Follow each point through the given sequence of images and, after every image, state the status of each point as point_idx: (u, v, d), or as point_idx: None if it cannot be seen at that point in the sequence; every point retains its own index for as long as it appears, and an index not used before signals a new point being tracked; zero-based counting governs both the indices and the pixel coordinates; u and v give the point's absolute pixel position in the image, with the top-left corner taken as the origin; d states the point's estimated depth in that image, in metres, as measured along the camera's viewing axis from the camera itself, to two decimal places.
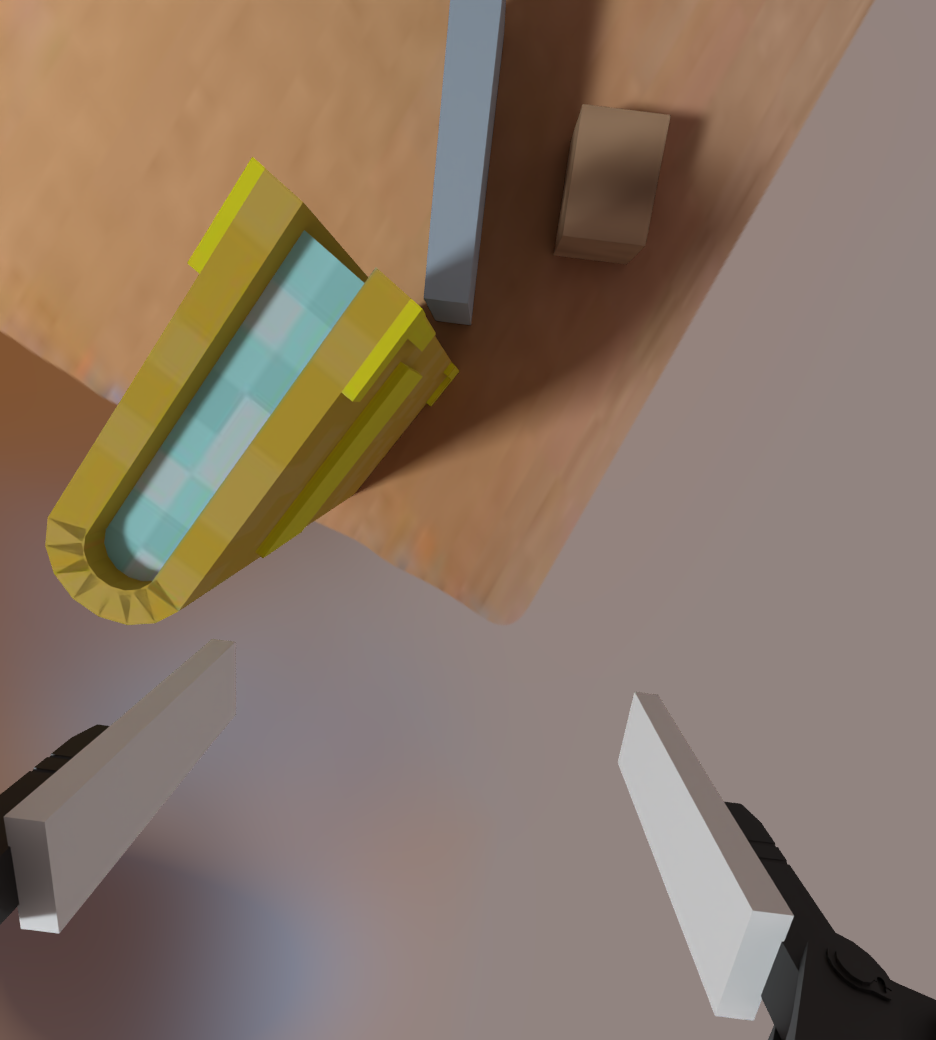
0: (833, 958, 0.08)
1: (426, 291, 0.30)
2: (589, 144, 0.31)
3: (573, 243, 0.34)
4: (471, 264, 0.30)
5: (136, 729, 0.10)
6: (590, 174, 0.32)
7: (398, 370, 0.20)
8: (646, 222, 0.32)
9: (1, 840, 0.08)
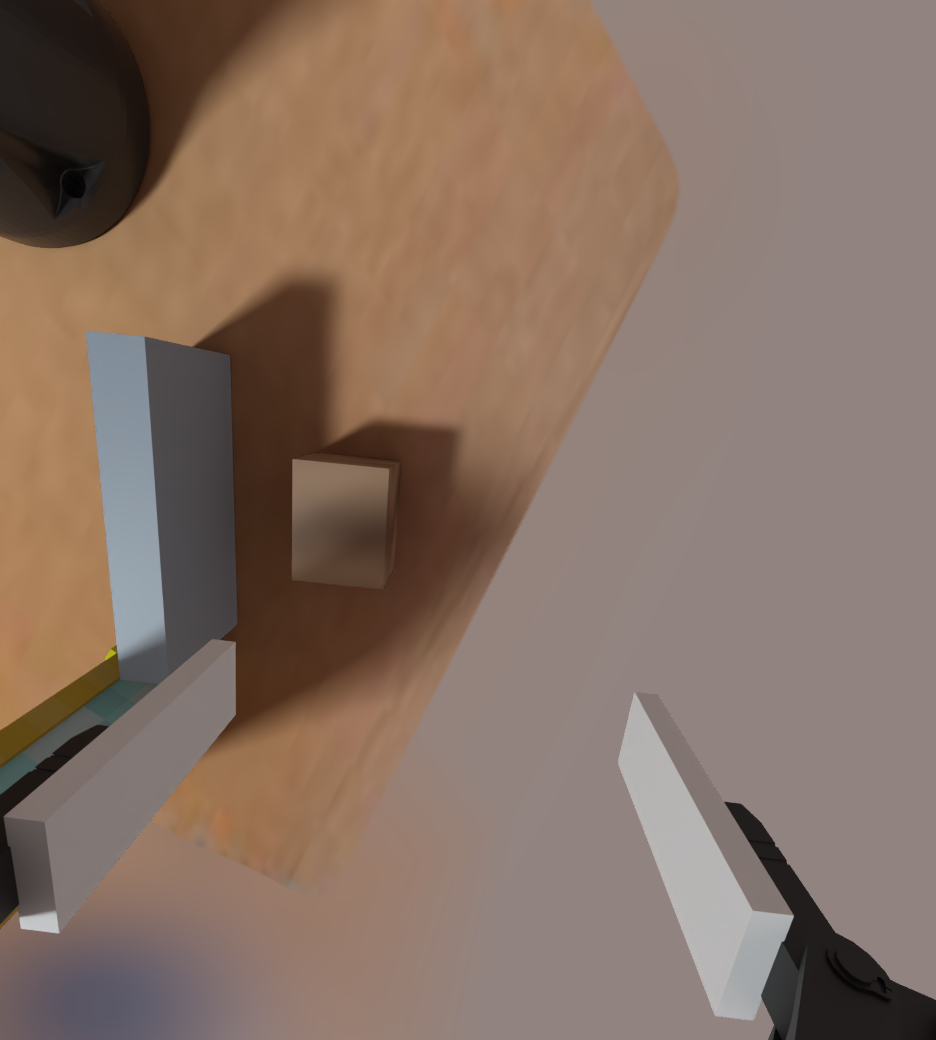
0: (833, 958, 0.08)
1: (122, 673, 0.28)
2: (305, 496, 0.28)
3: None
4: (165, 649, 0.27)
5: (136, 729, 0.10)
6: (311, 523, 0.29)
7: None
8: (379, 568, 0.29)
9: (1, 840, 0.08)
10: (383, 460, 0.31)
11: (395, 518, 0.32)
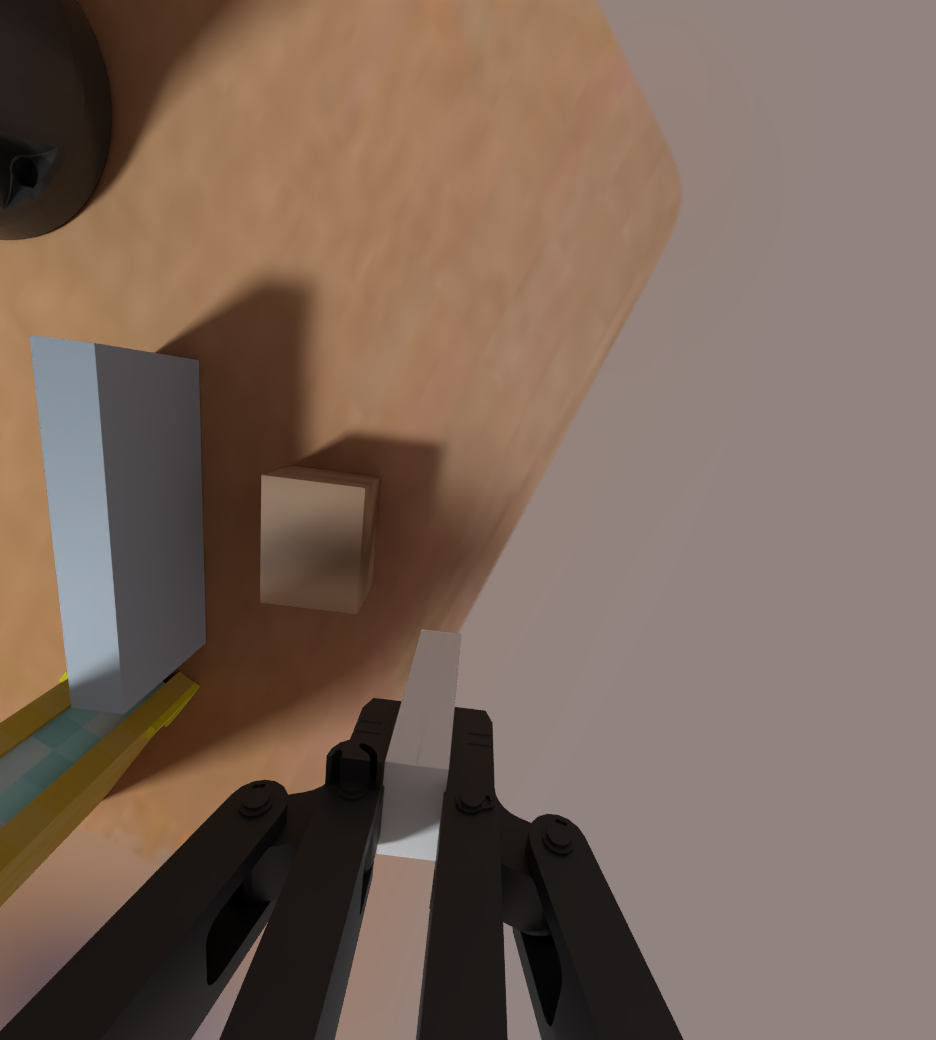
0: (459, 801, 0.10)
1: (73, 701, 0.26)
2: (275, 515, 0.27)
3: None
4: (119, 677, 0.25)
5: (424, 700, 0.13)
6: (281, 543, 0.27)
7: None
8: (353, 592, 0.28)
9: None
10: (361, 476, 0.30)
11: (373, 537, 0.30)
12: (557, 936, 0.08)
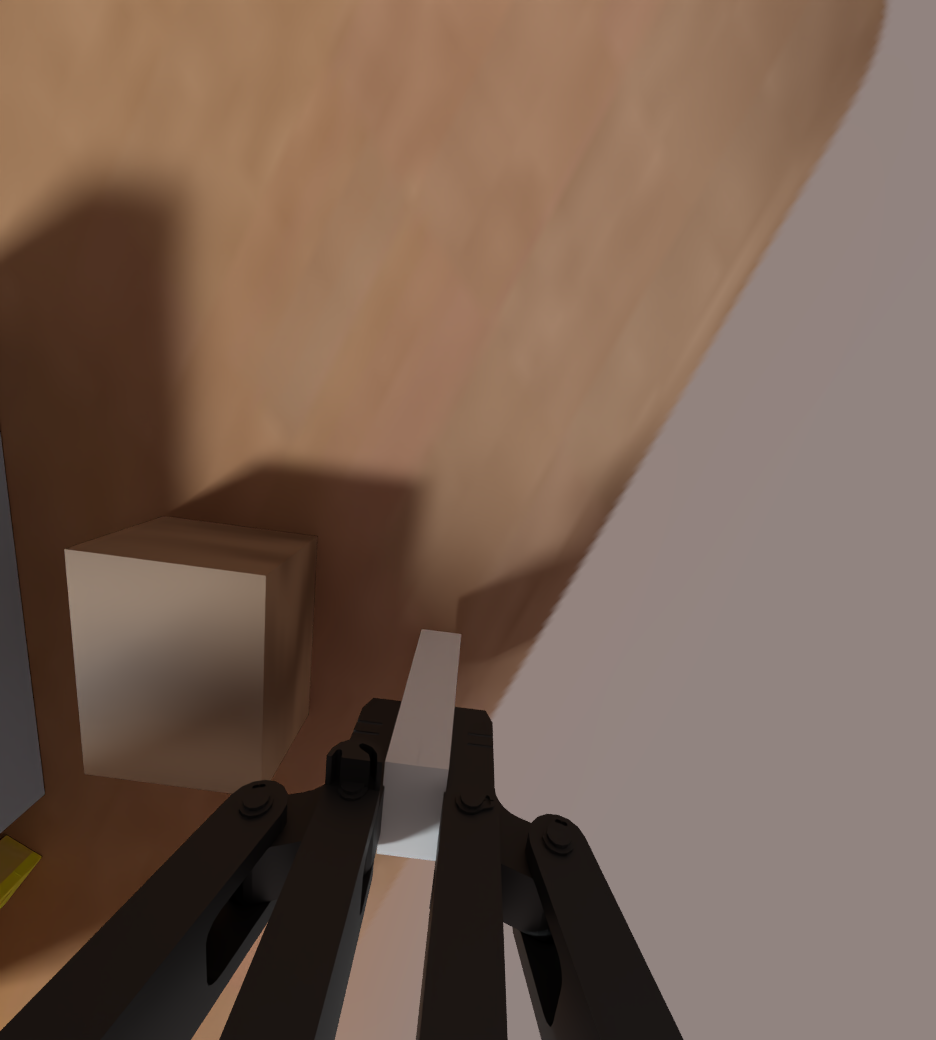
0: (459, 801, 0.10)
1: None
2: (98, 623, 0.14)
3: None
4: None
5: (424, 700, 0.13)
6: (114, 674, 0.14)
7: None
8: (254, 760, 0.15)
9: None
10: (281, 536, 0.17)
11: (304, 640, 0.18)
12: (557, 936, 0.08)
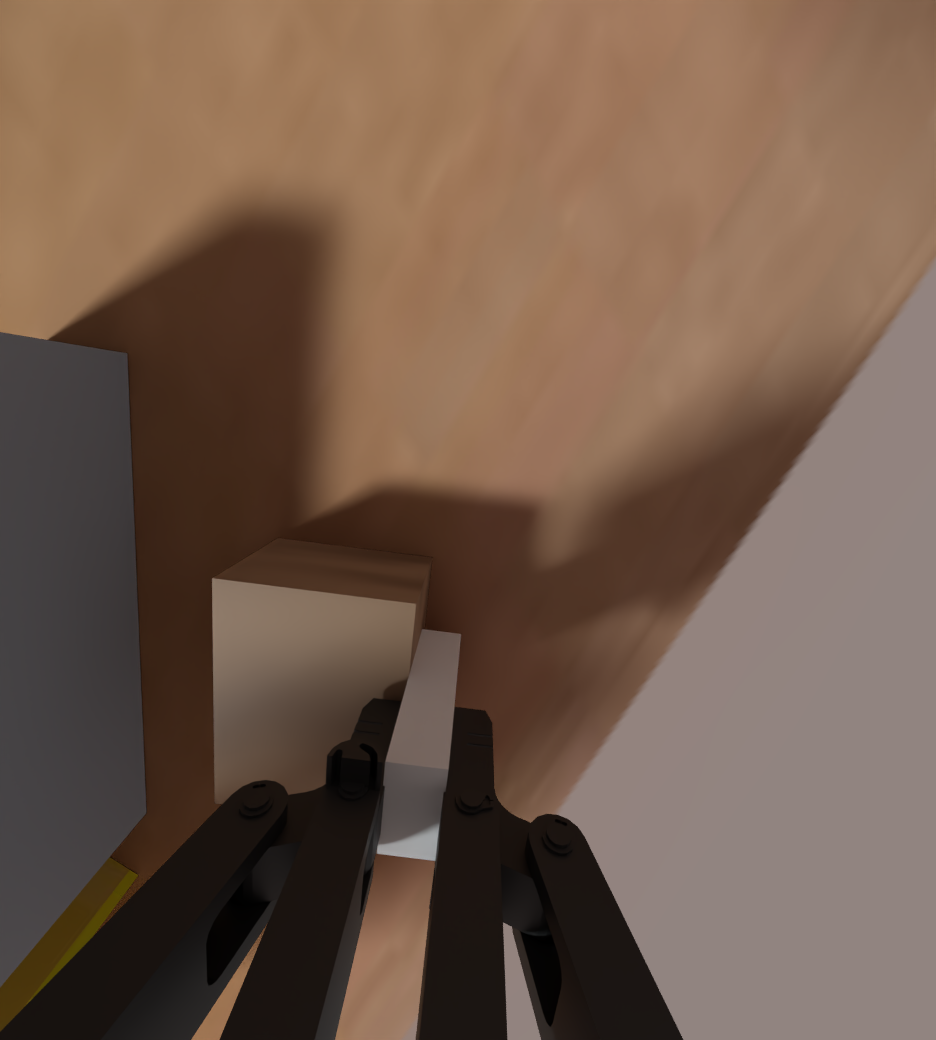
0: (459, 801, 0.10)
1: None
2: (241, 652, 0.14)
3: None
4: None
5: (424, 700, 0.13)
6: (253, 703, 0.14)
7: None
8: None
9: None
10: (399, 559, 0.17)
11: None
12: (557, 936, 0.08)
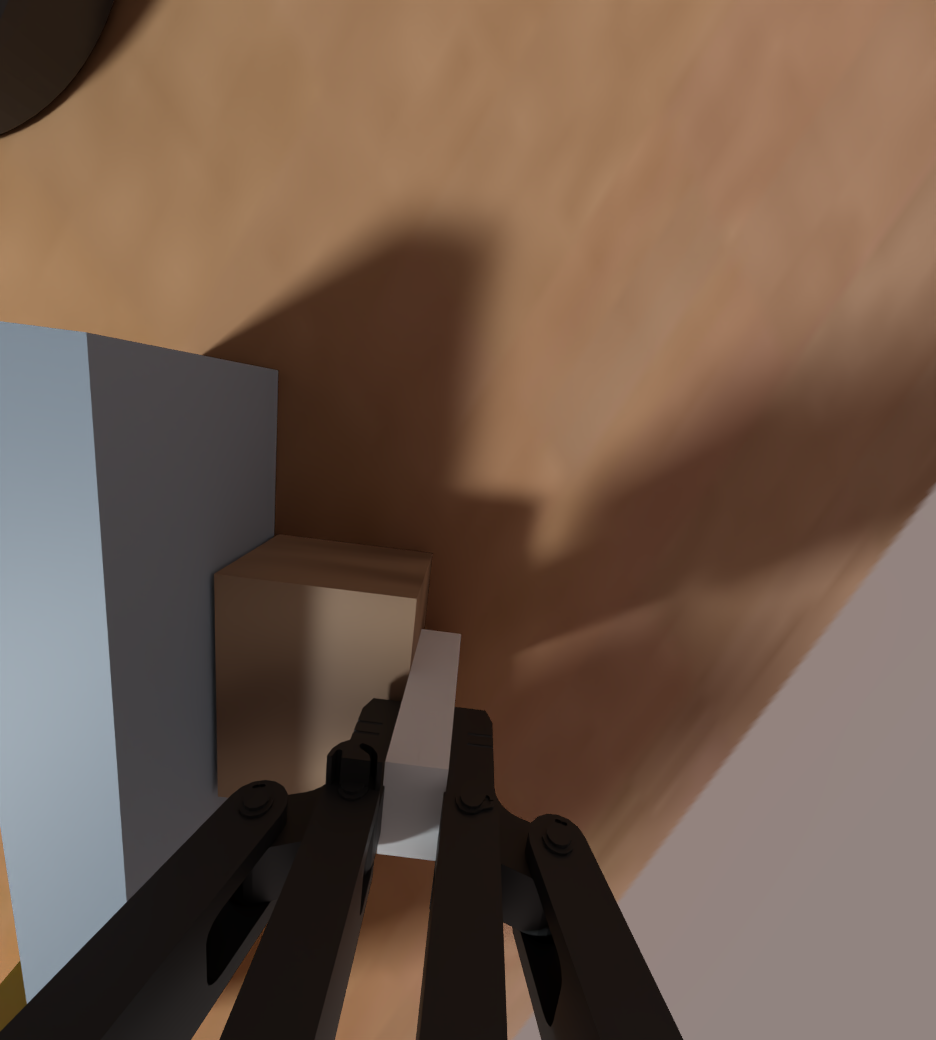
0: (459, 801, 0.10)
1: None
2: (243, 646, 0.14)
3: None
4: None
5: (424, 700, 0.13)
6: (255, 697, 0.14)
7: None
8: None
9: None
10: (400, 555, 0.17)
11: None
12: (557, 936, 0.08)
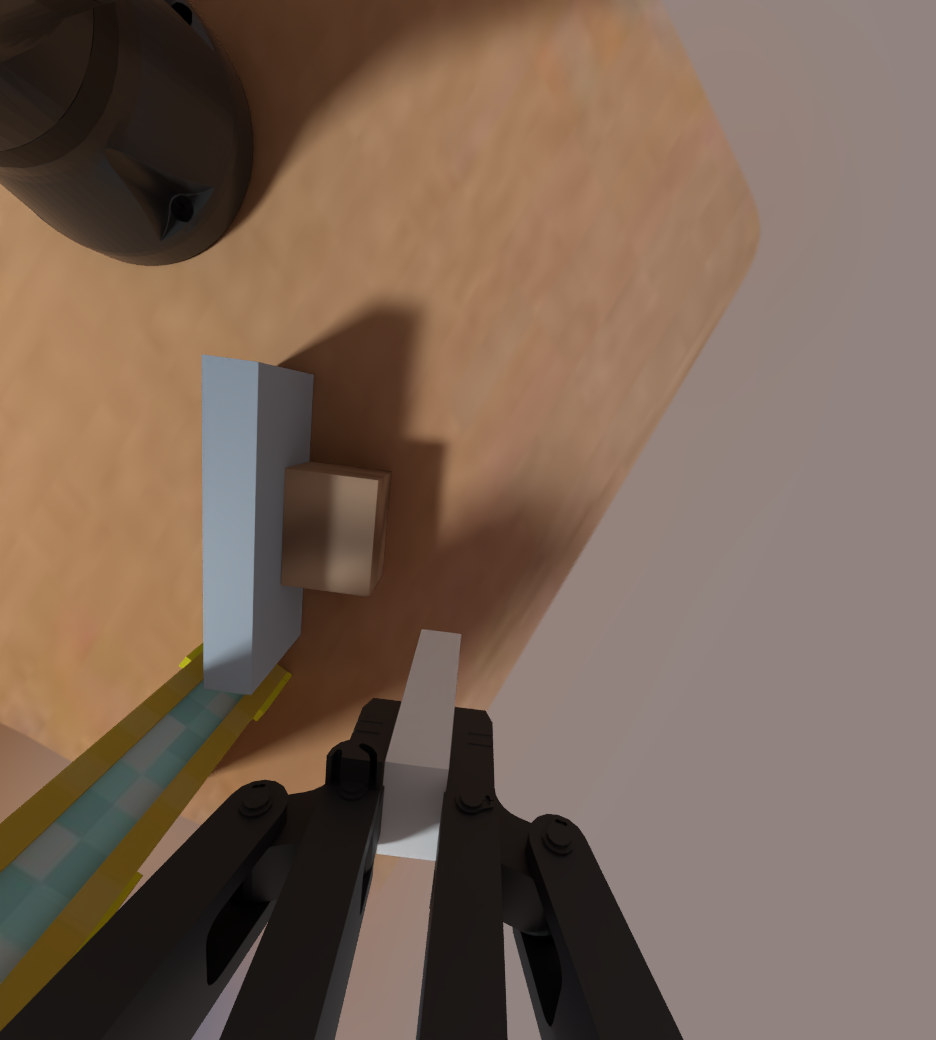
0: (459, 801, 0.10)
1: (206, 682, 0.28)
2: (296, 504, 0.29)
3: None
4: (250, 660, 0.28)
5: (424, 700, 0.13)
6: (301, 531, 0.30)
7: None
8: (366, 576, 0.30)
9: None
10: (374, 471, 0.32)
11: (384, 527, 0.33)
12: (557, 936, 0.08)
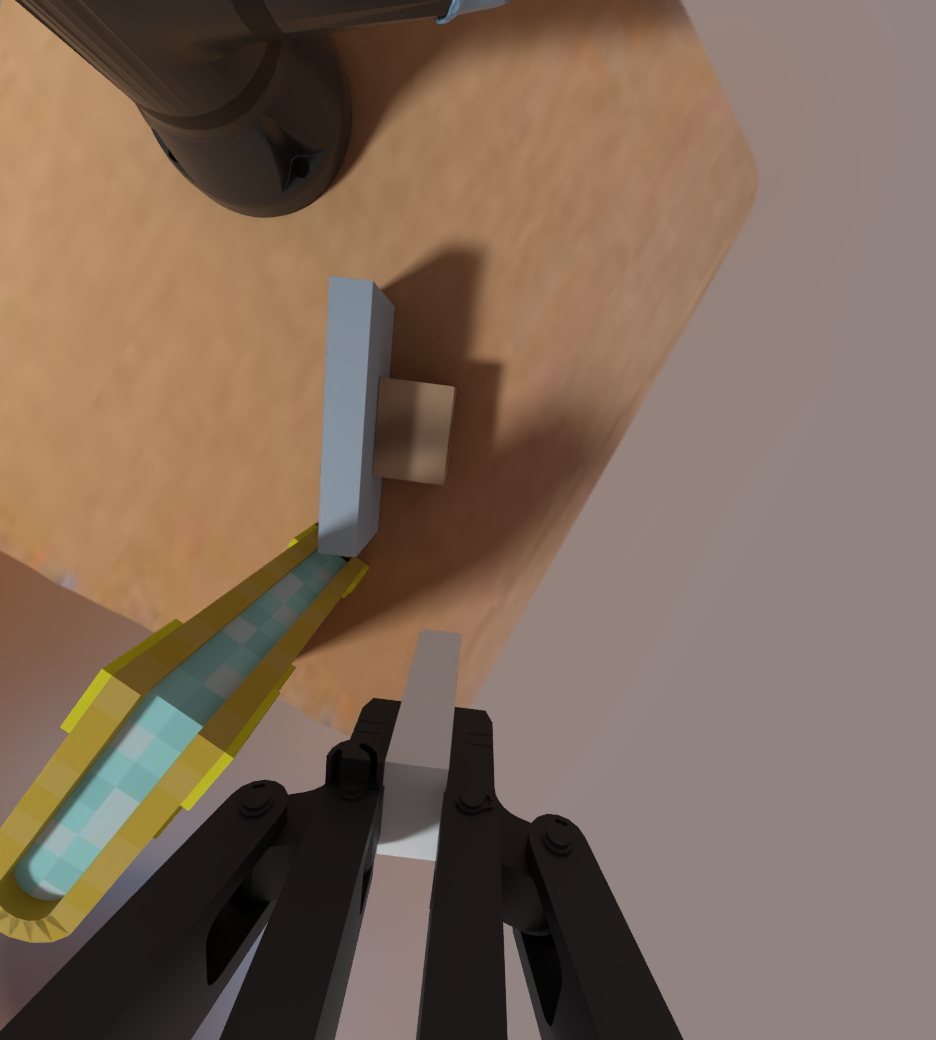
0: (459, 801, 0.10)
1: (319, 547, 0.36)
2: (388, 407, 0.37)
3: None
4: (356, 528, 0.35)
5: (424, 700, 0.13)
6: (391, 429, 0.37)
7: None
8: (442, 467, 0.38)
9: None
10: None
11: (451, 434, 0.40)
12: (557, 936, 0.08)
